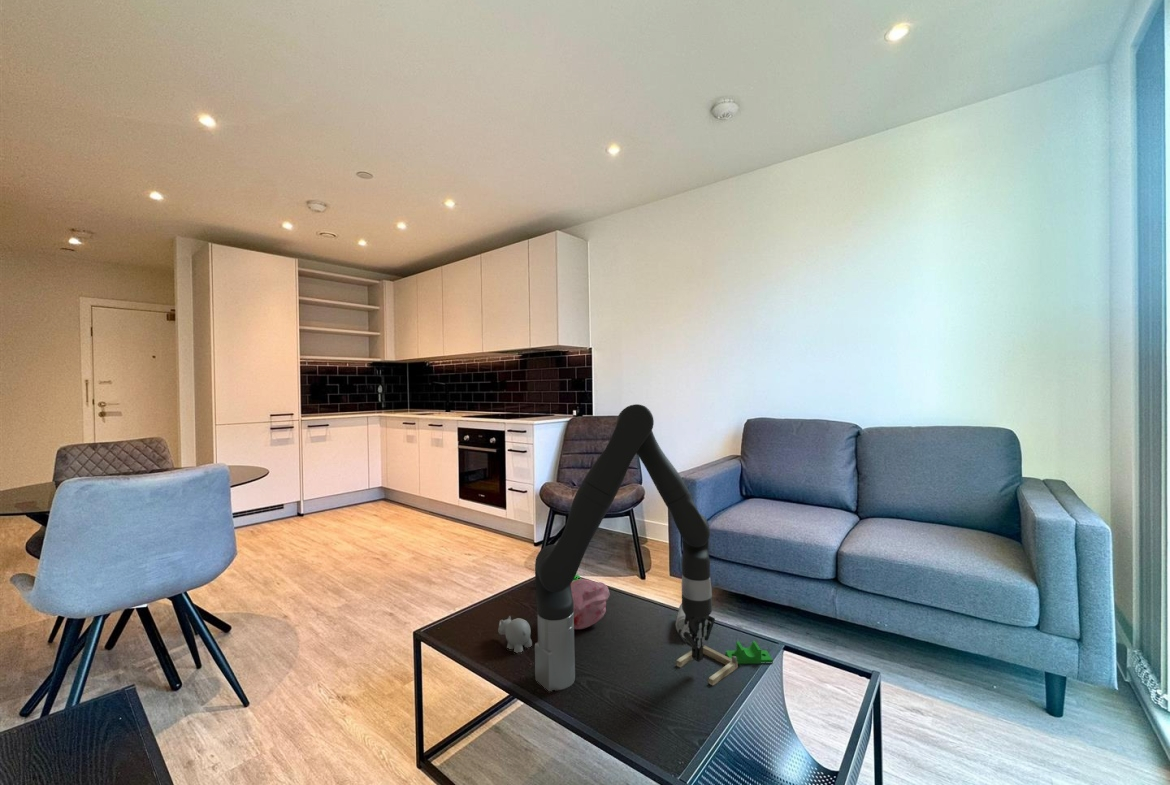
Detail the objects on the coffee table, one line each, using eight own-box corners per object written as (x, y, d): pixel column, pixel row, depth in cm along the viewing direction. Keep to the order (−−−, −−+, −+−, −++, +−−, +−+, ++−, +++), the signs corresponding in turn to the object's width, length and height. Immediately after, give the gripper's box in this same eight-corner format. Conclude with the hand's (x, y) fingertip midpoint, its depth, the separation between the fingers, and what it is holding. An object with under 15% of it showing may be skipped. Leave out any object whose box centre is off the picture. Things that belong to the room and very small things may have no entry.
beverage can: (701, 619, 143) (698, 639, 132) (681, 619, 145) (677, 639, 134) (698, 599, 143) (695, 617, 132) (677, 599, 145) (673, 618, 134)
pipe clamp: (765, 640, 125) (772, 649, 120) (766, 654, 125) (772, 663, 120) (725, 641, 125) (730, 650, 120) (725, 654, 125) (730, 664, 120)
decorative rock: (581, 647, 130) (580, 595, 130) (544, 632, 138) (543, 583, 138) (616, 619, 145) (615, 573, 145) (580, 607, 153) (579, 563, 153)
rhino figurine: (510, 633, 138) (509, 606, 138) (536, 648, 130) (535, 619, 130) (490, 644, 132) (490, 615, 132) (516, 659, 124) (516, 629, 124)
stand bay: (713, 688, 111) (712, 675, 111) (676, 667, 120) (676, 655, 120) (737, 669, 118) (737, 657, 118) (701, 651, 127) (701, 639, 127)
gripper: (692, 606, 109) (694, 677, 109) (723, 589, 118) (724, 655, 118) (668, 595, 115) (669, 663, 115) (699, 580, 123) (700, 643, 123)
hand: (697, 659), depth 116 cm, fingers closed
